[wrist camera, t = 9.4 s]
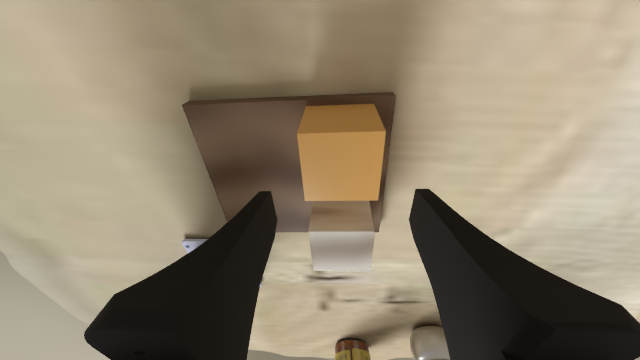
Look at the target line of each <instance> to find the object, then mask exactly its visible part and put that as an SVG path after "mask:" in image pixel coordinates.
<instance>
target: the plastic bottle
mask: <svg viewBox="0 0 640 360" xmlns="http://www.w3.org/2000/svg"><path fill="white" fill-rule="evenodd" d="M410 348H411V352H412V355H413V358H414V360H450V356H449V352H448V347H447V343H446V339H445V334H444V330H443V328H442V327H438V326H423V327H419V328H417V329H415V330H413V331H412V333H411V336H410Z"/></svg>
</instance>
